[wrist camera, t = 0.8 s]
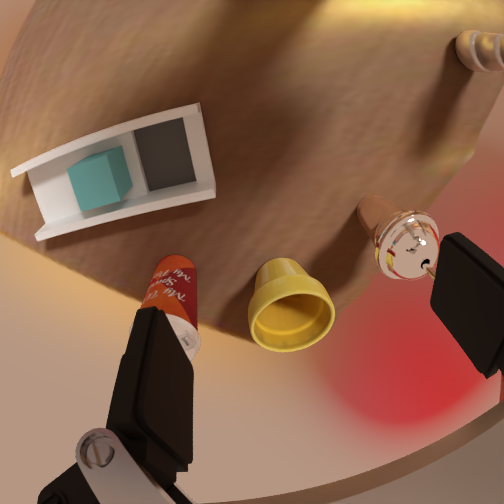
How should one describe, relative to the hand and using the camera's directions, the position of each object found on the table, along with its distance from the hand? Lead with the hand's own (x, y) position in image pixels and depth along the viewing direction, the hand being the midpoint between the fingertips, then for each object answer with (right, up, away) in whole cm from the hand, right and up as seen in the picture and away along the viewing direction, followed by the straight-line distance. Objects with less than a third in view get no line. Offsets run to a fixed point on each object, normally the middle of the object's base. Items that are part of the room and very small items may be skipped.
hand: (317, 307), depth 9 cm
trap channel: (-19, +12, +23) cm, 32 cm away
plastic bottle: (+29, +31, +17) cm, 45 cm away
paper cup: (-13, -1, +31) cm, 34 cm away
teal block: (-19, +11, +22) cm, 31 cm away
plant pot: (+2, -2, +34) cm, 34 cm away
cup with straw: (+14, +7, +29) cm, 34 cm away
